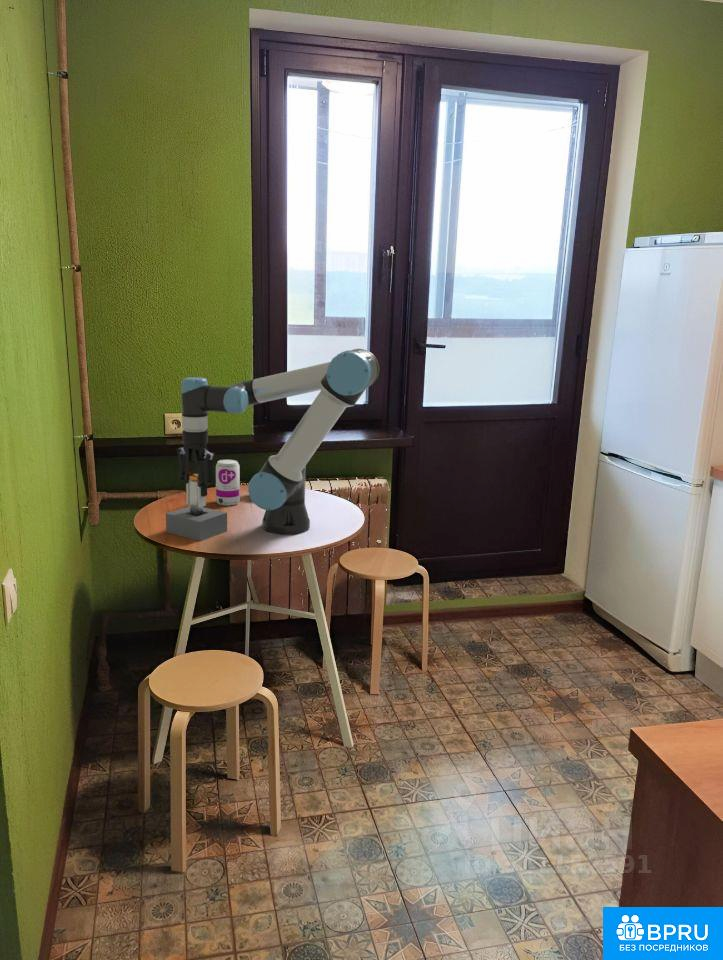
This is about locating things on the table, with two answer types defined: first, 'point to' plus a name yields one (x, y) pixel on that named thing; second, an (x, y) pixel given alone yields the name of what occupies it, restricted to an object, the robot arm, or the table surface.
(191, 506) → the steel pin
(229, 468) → the supplement can
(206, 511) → the block
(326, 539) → the table surface
